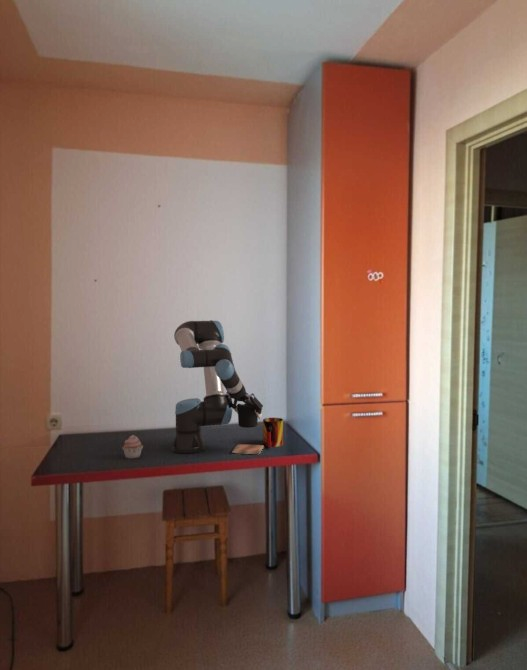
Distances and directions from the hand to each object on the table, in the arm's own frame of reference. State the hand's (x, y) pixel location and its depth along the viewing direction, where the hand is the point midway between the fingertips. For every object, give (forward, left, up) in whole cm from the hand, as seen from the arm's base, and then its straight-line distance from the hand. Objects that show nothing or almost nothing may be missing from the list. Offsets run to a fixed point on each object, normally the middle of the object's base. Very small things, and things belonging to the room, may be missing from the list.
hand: (250, 415), depth 235 cm
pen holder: (-1, -3, -4) cm, 5 cm away
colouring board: (-1, -3, -16) cm, 16 cm away
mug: (+10, +8, -16) cm, 20 cm away
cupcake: (-50, -20, -16) cm, 56 cm away
